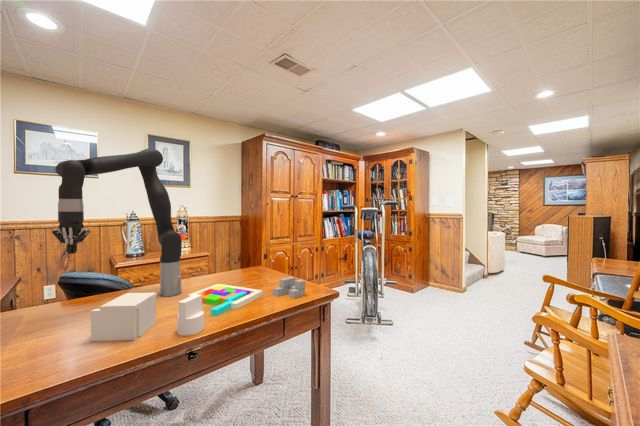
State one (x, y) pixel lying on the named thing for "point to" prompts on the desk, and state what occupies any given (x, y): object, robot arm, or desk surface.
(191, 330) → the cylinder with rectangular tab
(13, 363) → the desk surface
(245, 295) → the puzzle game
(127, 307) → the cream slotted block
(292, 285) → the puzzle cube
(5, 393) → the desk surface
